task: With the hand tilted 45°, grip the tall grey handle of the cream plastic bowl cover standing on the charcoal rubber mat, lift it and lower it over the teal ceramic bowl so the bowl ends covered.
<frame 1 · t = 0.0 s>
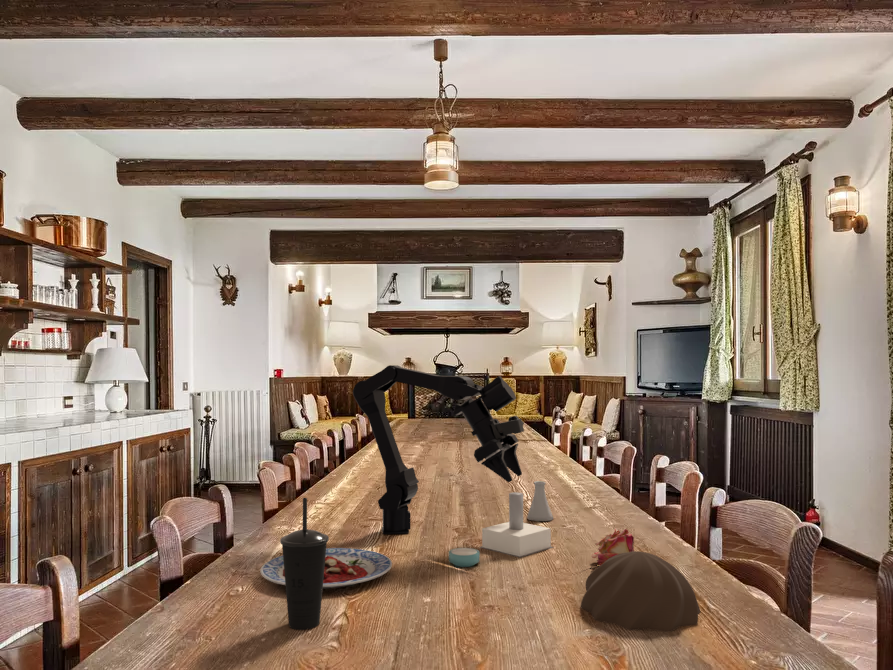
hand: (515, 478, 161), 15 cm above the table, tool tilted 35°, fingers open, 9 cm apart
teal ceramic bowl: (464, 565, 141), on the table
ceramic plate: (327, 577, 135), on the table
decorative dome: (639, 612, 115), on the table
charcoal rubber mat: (516, 548, 154), on the table
flask: (540, 519, 185), on the table
cream bowl cover: (516, 547, 154), resting on charcoal rubber mat
drinking cup: (304, 625, 109), on the table
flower: (612, 568, 139), on the table
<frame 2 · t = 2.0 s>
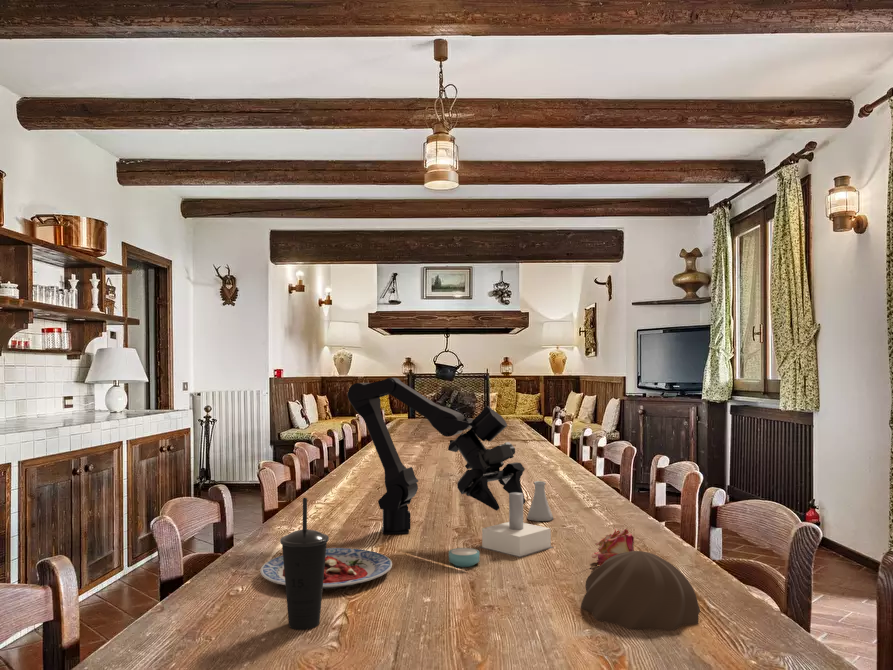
hand: (511, 506, 156), 9 cm above the table, tool tilted 45°, fingers open, 9 cm apart
nothing on the table moved.
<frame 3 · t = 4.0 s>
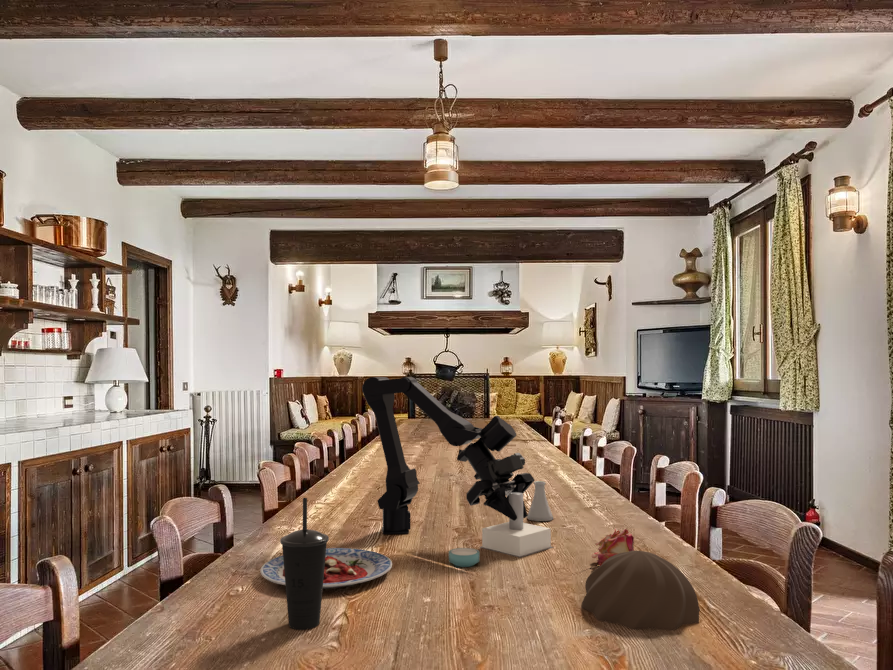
hand: (521, 518, 153), 7 cm above the table, tool tilted 45°, fingers closed on cream bowl cover, 3 cm apart
cream bowl cover: (516, 547, 154), resting on charcoal rubber mat, touching gripper
everything else where it was.
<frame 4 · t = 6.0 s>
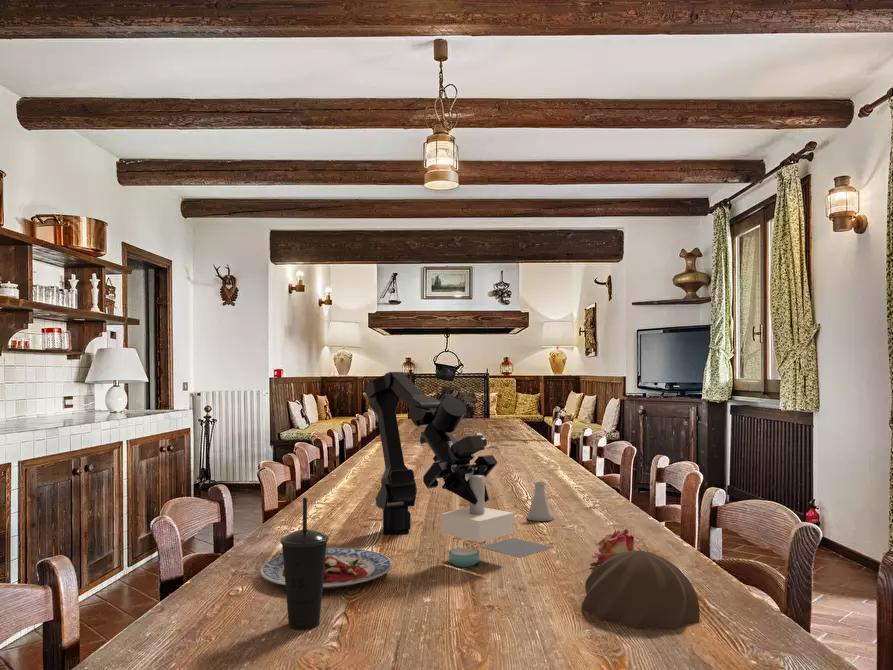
hand: (481, 502, 143), 13 cm above the table, tool tilted 45°, fingers closed on cream bowl cover, 3 cm apart
cream bowl cover: (477, 533, 144), point 6 cm above the table, touching gripper
everything else where it was.
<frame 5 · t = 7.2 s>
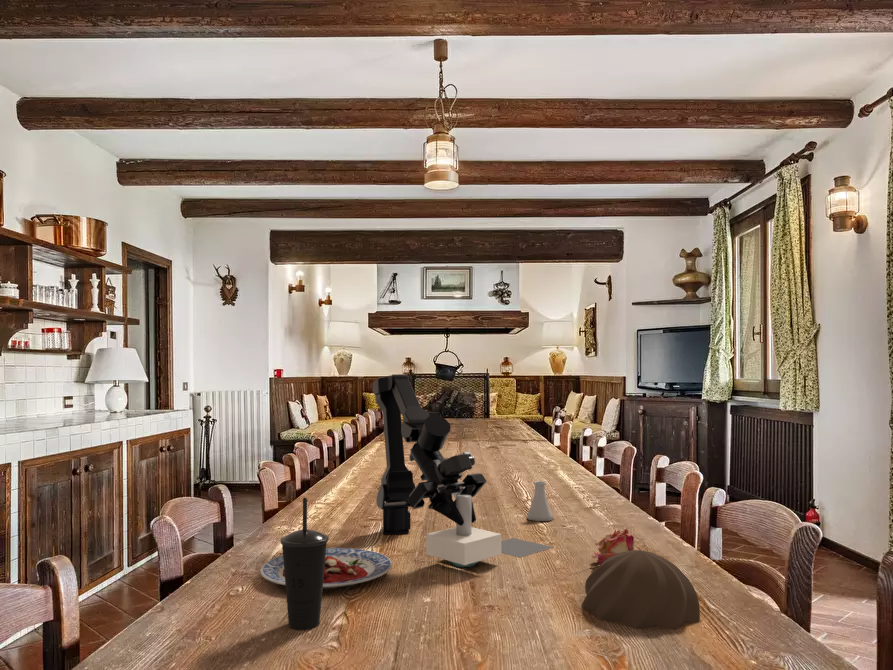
hand: (468, 522, 141), 9 cm above the table, tool tilted 45°, fingers closed on cream bowl cover, 3 cm apart
cream bowl cover: (464, 554, 141), point 2 cm above the table, touching gripper
everything else where it was.
when the fingers open (8 cm above the table, at t = 8.0 s): cream bowl cover drops 2 cm, on the table.
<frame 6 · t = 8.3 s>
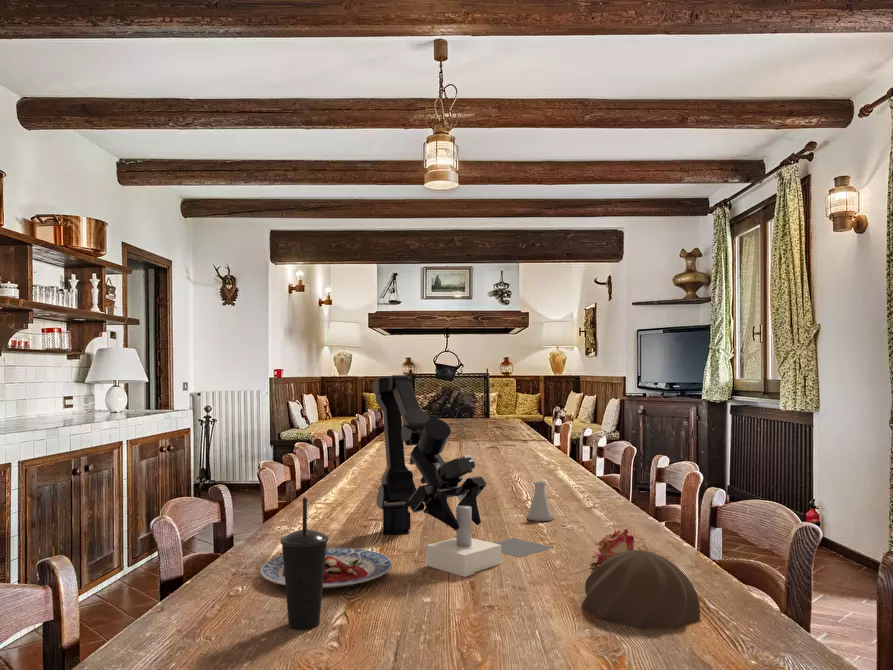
hand: (468, 526, 140), 8 cm above the table, tool tilted 45°, fingers open, 6 cm apart
cream bowl cover: (464, 565, 141), on the table
everything else where it was.
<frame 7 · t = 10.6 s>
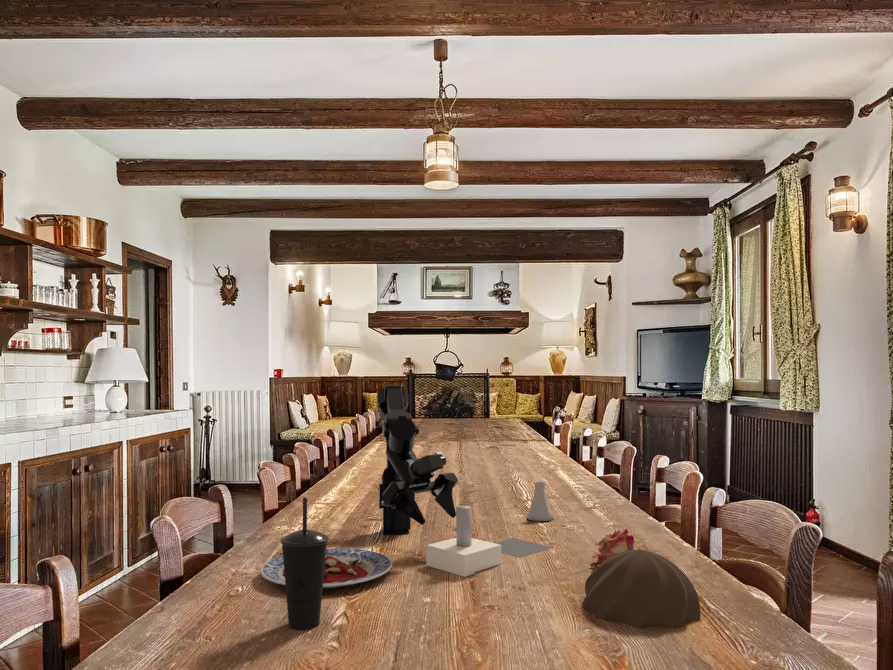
hand: (439, 520, 147), 8 cm above the table, tool tilted 45°, fingers open, 9 cm apart
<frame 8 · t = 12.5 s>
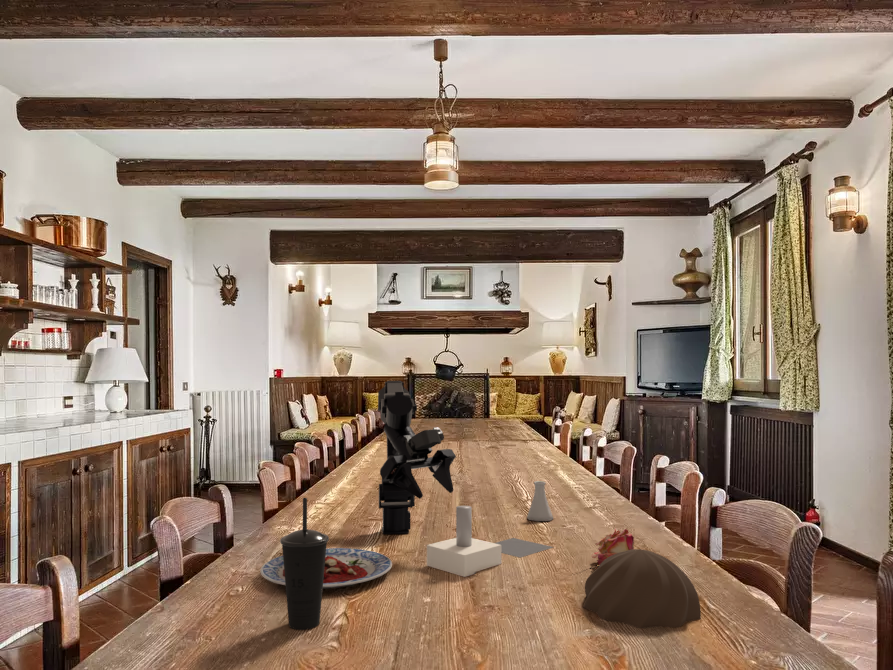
hand: (437, 494, 147), 14 cm above the table, tool tilted 45°, fingers open, 9 cm apart
at the end: cream bowl cover 0.0 cm off-centre on the teal ceramic bowl, point 0.0 cm above the teal ceramic bowl's base; cream bowl cover tilted 0°; the gripper is holding nothing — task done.
